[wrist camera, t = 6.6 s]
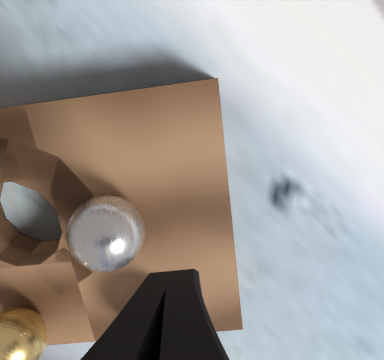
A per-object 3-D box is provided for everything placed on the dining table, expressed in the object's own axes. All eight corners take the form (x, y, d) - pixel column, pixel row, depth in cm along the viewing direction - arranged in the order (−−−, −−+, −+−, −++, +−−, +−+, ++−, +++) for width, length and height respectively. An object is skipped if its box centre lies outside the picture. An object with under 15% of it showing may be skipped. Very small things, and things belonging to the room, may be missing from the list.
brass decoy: (65, 338, 17) (34, 395, 14) (10, 342, 17) (-31, 399, 14) (49, 291, 16) (13, 341, 13) (-9, 296, 16) (-58, 347, 13)
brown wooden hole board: (237, 297, 19) (242, 329, 16) (-7, 318, 20) (-35, 351, 17) (215, 78, 14) (217, 78, 12) (-91, 120, 16) (-143, 128, 13)
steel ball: (160, 270, 12) (80, 300, 11) (140, 237, 15) (75, 259, 14) (146, 200, 11) (56, 225, 10) (128, 178, 14) (56, 196, 13)
